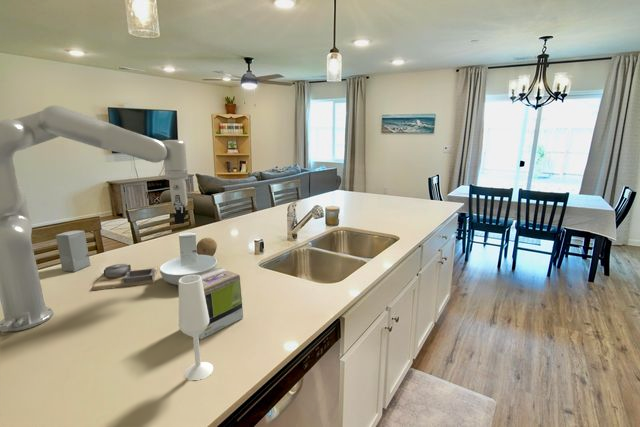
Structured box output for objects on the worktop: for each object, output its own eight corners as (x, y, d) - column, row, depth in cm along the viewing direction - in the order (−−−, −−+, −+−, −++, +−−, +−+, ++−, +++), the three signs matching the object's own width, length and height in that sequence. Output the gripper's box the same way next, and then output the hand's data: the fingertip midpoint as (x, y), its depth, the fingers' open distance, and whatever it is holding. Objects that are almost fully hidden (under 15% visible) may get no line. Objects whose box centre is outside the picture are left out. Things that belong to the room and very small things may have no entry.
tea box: (224, 308, 110) (221, 266, 107) (243, 318, 104) (241, 274, 101) (181, 328, 99) (176, 281, 96) (200, 341, 93) (195, 292, 90)
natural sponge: (204, 264, 148) (202, 242, 145) (192, 259, 153) (190, 238, 151) (221, 258, 155) (220, 237, 152) (209, 254, 160) (208, 234, 158)
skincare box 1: (74, 272, 139) (68, 235, 135) (60, 271, 140) (53, 234, 137) (92, 264, 147) (86, 230, 143) (78, 263, 148) (72, 229, 145)
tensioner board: (153, 282, 129) (151, 270, 128) (93, 290, 123) (90, 277, 122) (157, 269, 142) (156, 258, 141) (103, 275, 136) (101, 264, 134)
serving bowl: (195, 266, 146) (194, 251, 144) (229, 276, 135) (228, 260, 134) (149, 283, 129) (147, 266, 127) (184, 297, 118) (182, 279, 116)
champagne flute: (188, 385, 77) (178, 288, 71) (180, 368, 82) (170, 277, 76) (217, 373, 80) (209, 280, 75) (208, 358, 86) (200, 270, 80)
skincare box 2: (181, 266, 127) (178, 236, 125) (181, 262, 132) (178, 233, 129) (198, 264, 129) (195, 234, 127) (198, 260, 134) (195, 231, 131)
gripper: (186, 177, 115) (190, 225, 119) (188, 171, 131) (192, 214, 135) (162, 177, 113) (167, 227, 116) (167, 172, 129) (171, 215, 132)
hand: (180, 220), depth 126 cm, fingers open, 9 cm apart
